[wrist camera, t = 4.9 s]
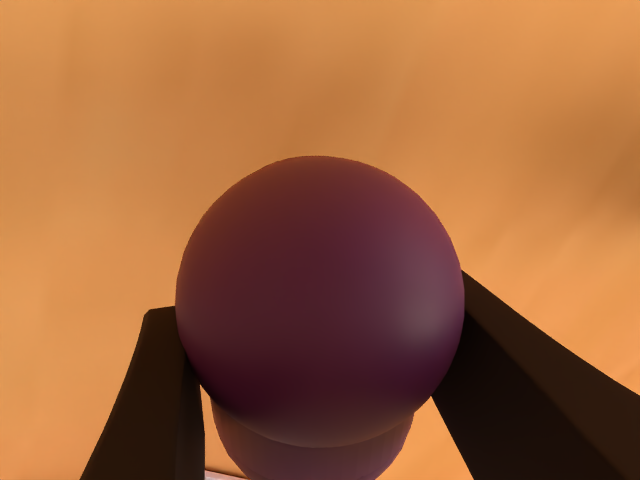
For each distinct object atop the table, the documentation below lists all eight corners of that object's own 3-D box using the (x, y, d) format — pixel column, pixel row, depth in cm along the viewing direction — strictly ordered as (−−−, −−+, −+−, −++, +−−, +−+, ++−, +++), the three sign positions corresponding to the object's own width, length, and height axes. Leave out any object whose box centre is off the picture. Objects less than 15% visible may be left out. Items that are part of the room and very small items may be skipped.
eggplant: (377, 389, 15) (449, 568, 11) (205, 423, 14) (225, 629, 10) (415, 98, 10) (567, 255, 6) (151, 120, 9) (152, 319, 5)
